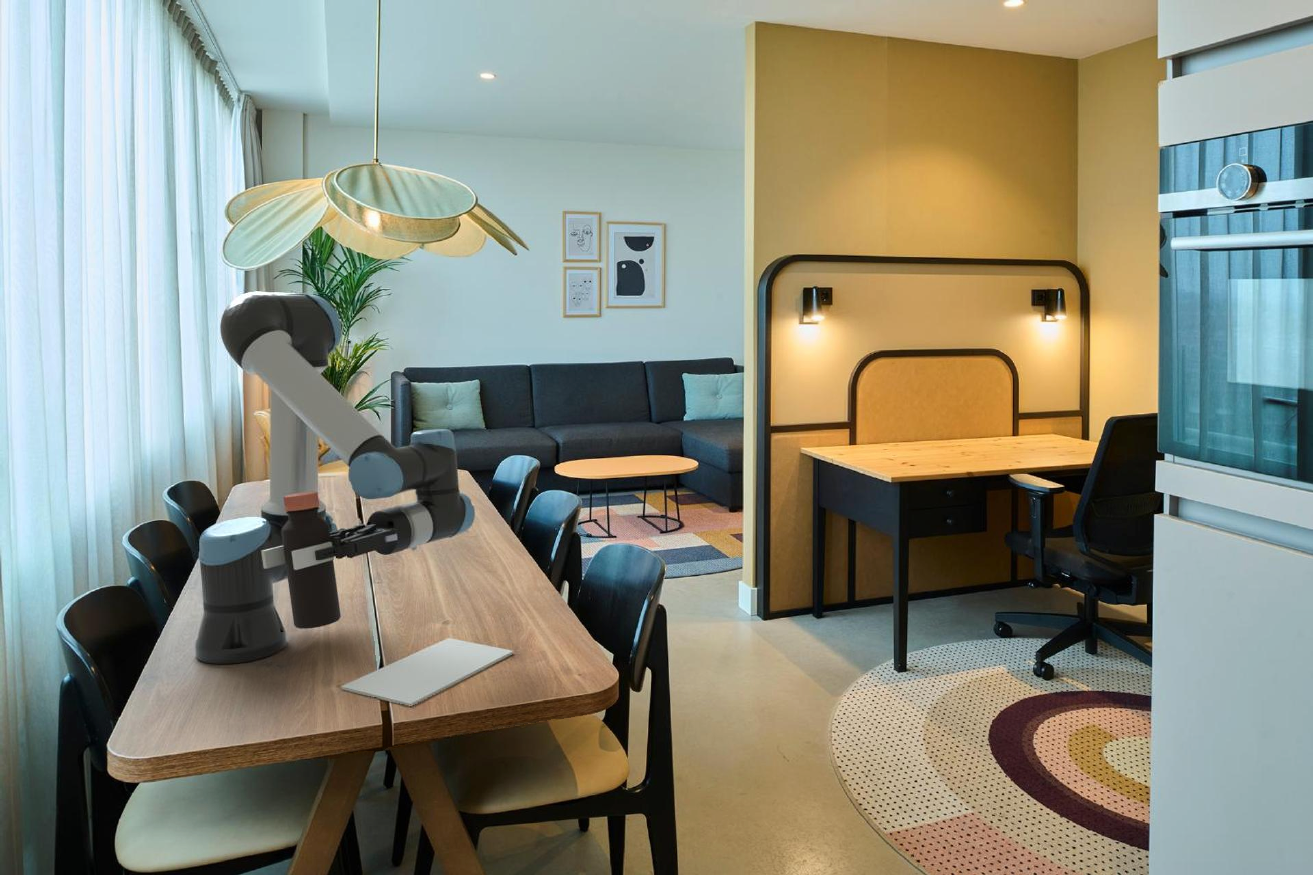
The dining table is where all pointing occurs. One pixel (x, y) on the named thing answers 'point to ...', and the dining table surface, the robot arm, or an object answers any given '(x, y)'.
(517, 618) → the dining table surface
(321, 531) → the vinegar
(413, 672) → the mat
